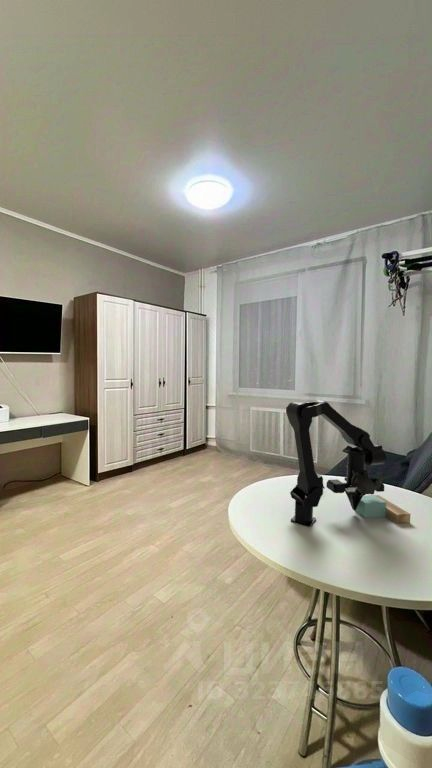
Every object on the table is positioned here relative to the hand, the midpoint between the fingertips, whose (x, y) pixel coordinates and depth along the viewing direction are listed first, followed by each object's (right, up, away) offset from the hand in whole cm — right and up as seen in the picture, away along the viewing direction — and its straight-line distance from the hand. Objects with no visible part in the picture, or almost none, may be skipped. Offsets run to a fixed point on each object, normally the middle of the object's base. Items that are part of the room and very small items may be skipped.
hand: (354, 509), depth 112 cm
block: (+6, -2, +1) cm, 6 cm away
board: (+12, -2, +2) cm, 13 cm away
